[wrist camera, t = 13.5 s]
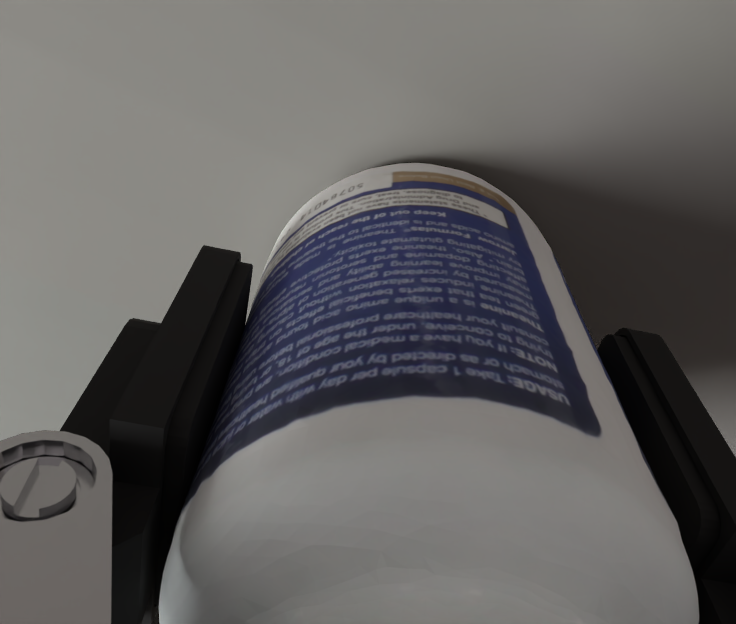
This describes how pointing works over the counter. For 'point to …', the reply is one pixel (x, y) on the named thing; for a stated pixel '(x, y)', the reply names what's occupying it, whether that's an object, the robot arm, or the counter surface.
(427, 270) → the pill bottle
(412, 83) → the counter surface
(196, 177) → the counter surface
